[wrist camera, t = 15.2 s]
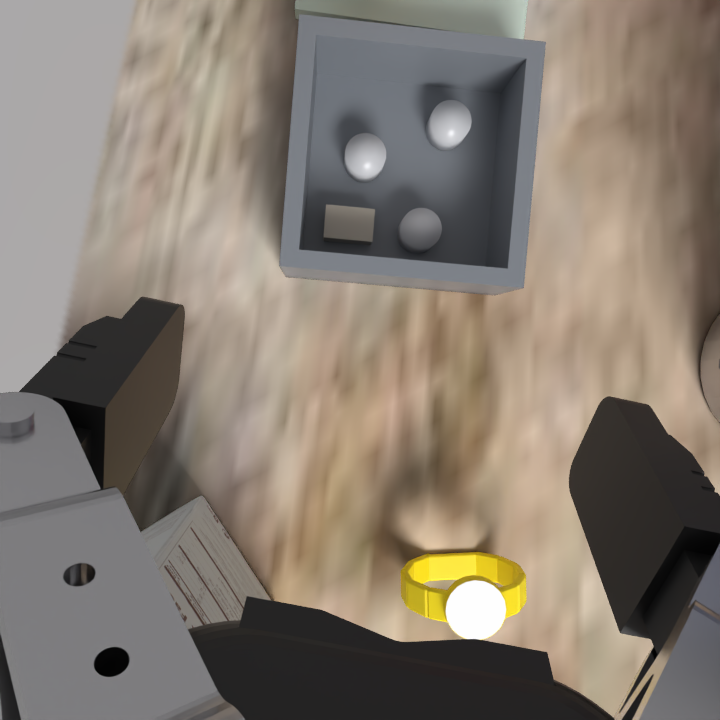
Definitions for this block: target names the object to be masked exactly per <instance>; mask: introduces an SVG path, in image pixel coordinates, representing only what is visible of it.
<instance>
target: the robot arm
mask: <svg viewBox="0 0 720 720" xmlns="http://www.w3.org/2000/svg"><path fill="white" fill-rule="evenodd" d="M184 318H185V311H184V307H183V305H180V304H175V303H170V302H166V301H161V300H156V299H152V298H147V297H141V298H140V299H139V300H138V301H137V302H136V303H135V304H134V305H133V306H132V308H131V309H130V310H129V311H128V312H127V313H126V314H125V315H124V317H123V318H122V319H119V318H114V317H109V316H106V317H104V318H101V319H99V320H96V321H94V322H92V323H89V324H87V325H85V326H83V327H82V328H81V329H80V330H79V331H78V332H77V333H76V334H75V335H74V336H73V337H72V338H71V339H70V340H69V343H68V344H67V343H66V344H65V345H64V346H63V347H62V348H61V349H60V350H59V351H58V352H57V356H53V358H52V359H51V360H50V361H49V362H48V363H47V364H46V365H45V366H44V367H43V368H42V369H41V370H40V371H39V372H38V373H37V374H36V375H35V376H34V377H33V378H32V379H31V380H30V381H29V382H28V383H27V384H26V385H25V386H24V387H23V388H22V389H21V390H20V391H19V392H8V393H0V720H720V496H719V494H718V493H716V492H714V490H715V488H714V487H713V485H712V484H711V482H710V481H709V479H708V477H705V476H704V471H703V470H702V468H701V467H700V465H699V464H698V462H697V461H696V459H695V458H694V456H693V455H692V453H690V452H689V451H688V450H687V449H686V448H685V447H684V446H682V445H681V444H680V443H679V442H678V441H677V440H676V439H674V438H673V437H672V436H671V435H668V434H667V432H666V430H665V429H664V427H663V426H662V424H661V422H660V421H659V419H658V418H657V416H656V415H655V413H654V411H653V410H652V408H651V407H650V406H649V405H647V404H643V403H638V402H634V401H629V400H624V399H619V398H615V397H610V396H609V397H606V398H604V399H603V400H602V401H601V403H600V404H599V406H598V408H597V410H596V412H595V414H594V416H593V418H592V421H591V423H590V425H589V427H588V429H587V431H586V434H585V436H584V438H583V440H582V442H581V444H580V447H579V449H578V451H577V453H576V455H575V457H574V460H573V462H572V465H571V469H570V475H569V489H570V493H571V496H572V499H573V502H574V505H575V508H576V510H577V513H578V516H579V519H580V522H581V524H582V527H583V530H584V533H585V536H586V539H587V541H588V544H589V547H590V550H591V553H592V555H593V558H594V561H595V564H596V567H597V569H598V572H599V575H600V578H601V581H602V583H603V586H604V589H605V592H606V595H607V598H608V600H609V603H610V606H611V609H612V612H613V614H614V617H615V620H616V623H617V626H618V628H619V631H620V633H622V634H627V635H632V636H638V637H643V638H648V639H651V640H652V643H653V645H654V646H653V647H652V649H651V650H650V652H649V653H648V655H647V656H646V658H645V660H644V661H643V663H642V665H641V667H640V669H639V671H638V673H637V674H636V676H635V678H634V680H633V682H632V684H631V686H630V688H629V690H628V691H627V693H626V695H625V697H624V699H623V701H622V703H621V705H620V707H619V708H618V710H617V712H616V714H615V716H614V718H613V717H612V716H611V715H610V714H608V713H607V712H606V711H604V710H603V709H602V708H601V707H599V706H598V705H597V704H595V703H594V702H592V701H591V700H589V699H588V698H586V697H585V696H583V695H582V694H580V693H579V692H577V691H575V690H573V689H571V688H570V687H568V686H566V685H564V684H562V683H560V682H558V681H555V680H553V675H552V671H551V667H550V662H549V658H548V654H547V652H542V651H537V650H532V649H526V648H521V647H516V646H510V645H505V644H500V643H494V642H489V641H484V640H478V639H461V640H441V641H421V642H399V641H395V640H392V639H389V638H387V637H385V636H382V635H380V634H378V633H375V632H373V631H370V630H368V629H366V628H363V627H361V626H358V625H356V624H354V623H351V622H349V621H347V620H344V619H342V618H339V617H337V616H335V615H332V614H330V613H328V612H325V611H323V610H319V609H313V608H308V607H303V606H297V605H292V604H287V603H281V602H276V601H271V600H265V599H260V598H255V597H249V596H247V597H246V601H245V605H244V609H243V613H242V617H241V620H233V621H222V622H216V623H210V624H205V625H201V626H198V627H194V628H190V629H187V627H186V625H185V623H184V621H183V619H182V617H181V615H180V613H179V611H178V608H177V606H176V604H175V602H174V600H173V598H172V596H171V594H170V592H169V590H168V588H167V586H166V584H165V582H164V580H163V578H162V576H161V573H160V571H159V569H158V567H157V565H156V563H155V561H154V559H153V557H152V555H151V553H150V551H149V549H148V547H147V545H146V543H145V541H144V538H143V536H142V534H141V532H140V530H139V528H138V526H137V524H136V522H135V520H134V518H133V516H132V514H131V512H130V510H129V508H128V506H127V503H126V501H125V499H124V497H123V494H124V493H125V491H126V489H127V487H128V485H129V484H130V482H131V480H132V478H133V477H134V475H135V473H136V471H137V469H138V468H139V466H140V464H141V462H142V460H143V459H144V457H145V455H146V453H147V451H148V450H149V448H150V446H151V444H152V442H153V441H154V439H155V437H156V435H157V434H158V432H159V430H160V428H161V426H162V425H163V423H164V421H165V419H166V417H167V416H168V414H169V412H170V410H171V408H172V405H173V403H174V400H175V396H176V392H177V388H178V383H179V374H180V363H181V352H182V341H183V330H184ZM701 382H702V387H703V391H704V396H705V398H706V400H707V403H708V405H709V407H710V409H711V412H712V413H713V414H714V416H715V417H716V419H717V420H718V421H719V423H720V314H719V315H718V317H717V318H716V320H715V321H714V323H713V324H712V325H711V328H710V330H709V332H708V335H707V337H706V339H705V342H704V346H703V351H702V356H701Z"/></svg>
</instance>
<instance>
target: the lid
mask: <svg viewBox="0 0 720 720" xmlns="http://www.w3.org/2000/svg"><path fill="white" fill-rule="evenodd" d="M527 6H528V0H296V1H295V19H299V14H302V15H311V16H320V17H329V18H338V19H347V20H355V21H364V22H373V23H382V24H391V25H400V26H409V27H418V28H427V29H436V30H444V31H453V32H462V33H471V34H480V35H489V36H498V37H507V38H516V39H524V31H525V23H526V14H527Z"/></svg>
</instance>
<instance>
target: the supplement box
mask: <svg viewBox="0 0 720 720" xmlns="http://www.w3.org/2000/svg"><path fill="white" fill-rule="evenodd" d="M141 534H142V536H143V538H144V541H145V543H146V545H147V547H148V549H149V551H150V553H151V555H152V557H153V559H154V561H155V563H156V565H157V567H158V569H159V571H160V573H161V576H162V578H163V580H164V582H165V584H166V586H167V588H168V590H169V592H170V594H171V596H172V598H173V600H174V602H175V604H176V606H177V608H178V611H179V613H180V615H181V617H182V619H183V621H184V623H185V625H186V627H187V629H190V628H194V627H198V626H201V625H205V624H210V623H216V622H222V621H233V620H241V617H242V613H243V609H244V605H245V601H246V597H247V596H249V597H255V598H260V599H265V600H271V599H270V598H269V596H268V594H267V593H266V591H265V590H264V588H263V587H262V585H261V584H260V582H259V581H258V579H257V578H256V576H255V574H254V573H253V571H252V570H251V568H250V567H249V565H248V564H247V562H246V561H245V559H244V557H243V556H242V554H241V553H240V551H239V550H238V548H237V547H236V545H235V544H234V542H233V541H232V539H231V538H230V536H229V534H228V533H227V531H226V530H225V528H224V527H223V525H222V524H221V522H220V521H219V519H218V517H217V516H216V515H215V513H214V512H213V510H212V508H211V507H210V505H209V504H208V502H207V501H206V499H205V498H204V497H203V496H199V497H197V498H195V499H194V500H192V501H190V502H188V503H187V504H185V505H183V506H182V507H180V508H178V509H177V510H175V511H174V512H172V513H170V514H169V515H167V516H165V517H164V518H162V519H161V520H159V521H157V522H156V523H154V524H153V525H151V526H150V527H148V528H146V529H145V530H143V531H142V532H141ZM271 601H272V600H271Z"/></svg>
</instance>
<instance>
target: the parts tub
mask: <svg viewBox="0 0 720 720" xmlns="http://www.w3.org/2000/svg"><path fill="white" fill-rule="evenodd" d="M545 44H546V42H542V41H533V40H524V39H516V38H507V37H498V36H489V35H480V34H471V33H462V32H453V31H444V30H436V29H427V28H418V27H409V26H400V25H391V24H382V23H373V22H364V21H355V20H347V19H338V18H329V17H320V16H311V15H302V14H299V25H298V38H297V50H296V63H295V75H294V88H293V101H292V113H291V126H290V138H289V151H288V164H287V176H286V189H285V201H284V214H283V226H282V239H281V252H280V264H279V266H280V268H281V270H282V271H283V273H284V275H285V277H293V278H305V279H316V280H327V281H338V282H350V283H361V284H372V285H384V286H395V287H406V288H418V289H429V290H440V291H451V292H463V293H474V294H485V295H498V294H502V293H506V292H510V291H514V290H518V289H521V288H524V279H525V268H526V256H527V245H528V234H529V223H530V212H531V201H532V189H533V178H534V167H535V156H536V145H537V134H538V123H539V111H540V100H541V89H542V78H543V67H544V56H545Z"/></svg>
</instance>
